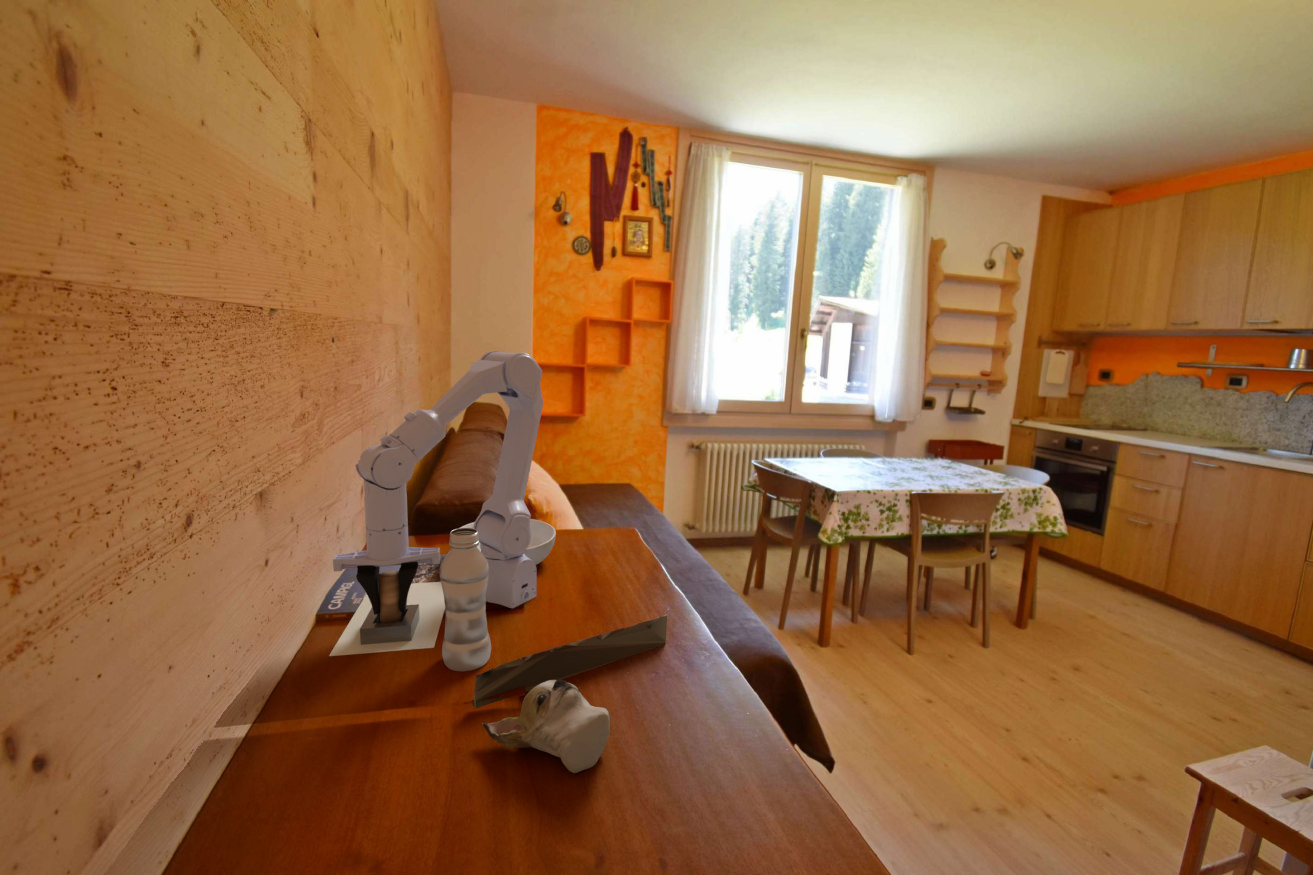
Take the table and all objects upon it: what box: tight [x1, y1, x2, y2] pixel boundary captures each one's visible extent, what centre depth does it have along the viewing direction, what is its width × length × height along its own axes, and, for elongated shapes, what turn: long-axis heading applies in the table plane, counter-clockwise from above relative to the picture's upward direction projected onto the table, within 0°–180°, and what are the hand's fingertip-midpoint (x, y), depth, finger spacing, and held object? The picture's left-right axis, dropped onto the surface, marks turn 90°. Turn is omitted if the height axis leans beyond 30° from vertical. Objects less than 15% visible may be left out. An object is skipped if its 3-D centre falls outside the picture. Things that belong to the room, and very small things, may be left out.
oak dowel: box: [378, 570, 402, 623], centre depth 88 cm, size 3×3×8 cm
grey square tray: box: [360, 604, 420, 645], centre depth 88 cm, size 7×7×2 cm
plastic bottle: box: [439, 527, 492, 672], centre depth 80 cm, size 6×7×20 cm
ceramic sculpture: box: [481, 679, 611, 774], centre depth 65 cm, size 11×9×15 cm
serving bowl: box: [459, 518, 557, 566], centre depth 118 cm, size 21×21×7 cm
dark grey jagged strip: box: [471, 614, 668, 710], centre depth 81 cm, size 30×1×5 cm, turn 126°
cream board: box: [328, 581, 445, 657], centre depth 94 cm, size 24×14×1 cm, turn 13°
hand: (390, 610), depth 88 cm, fingers closed on oak dowel, 3 cm apart
